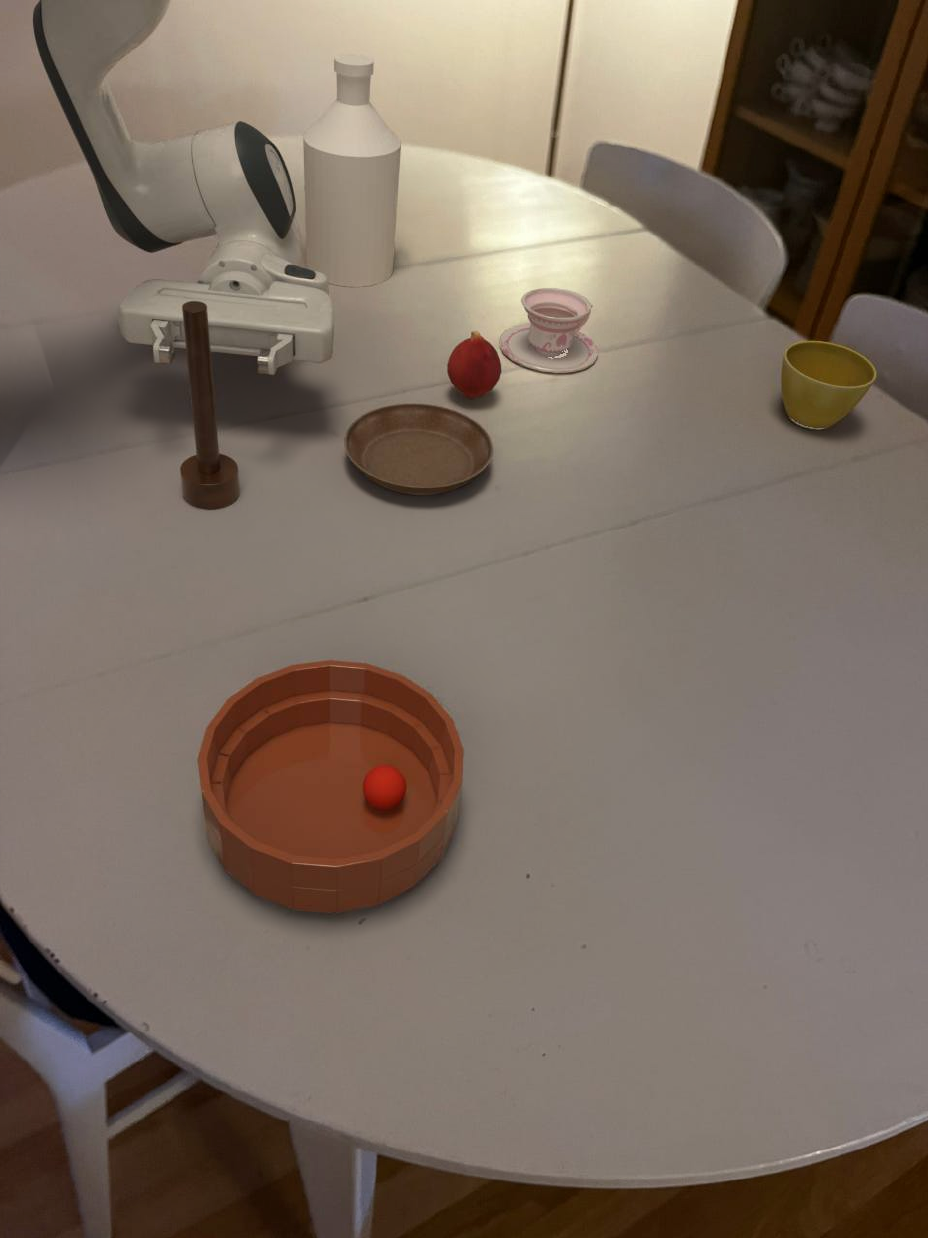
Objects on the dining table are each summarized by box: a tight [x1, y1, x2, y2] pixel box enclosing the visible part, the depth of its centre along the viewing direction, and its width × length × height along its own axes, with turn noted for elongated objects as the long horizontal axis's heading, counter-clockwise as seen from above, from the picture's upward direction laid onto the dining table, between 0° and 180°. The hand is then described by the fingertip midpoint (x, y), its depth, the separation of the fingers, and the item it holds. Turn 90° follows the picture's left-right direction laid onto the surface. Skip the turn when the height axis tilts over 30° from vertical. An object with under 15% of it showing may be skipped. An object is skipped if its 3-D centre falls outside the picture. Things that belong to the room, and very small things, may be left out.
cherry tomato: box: [363, 765, 406, 809], centre depth 70 cm, size 3×3×3 cm
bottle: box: [302, 53, 402, 288], centre depth 126 cm, size 12×12×25 cm
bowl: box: [196, 659, 465, 914], centre depth 69 cm, size 17×17×6 cm
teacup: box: [499, 287, 599, 374], centre depth 121 cm, size 12×12×6 cm
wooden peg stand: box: [179, 301, 240, 510], centre depth 90 cm, size 5×5×19 cm
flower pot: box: [780, 340, 877, 429], centre depth 115 cm, size 10×10×7 cm
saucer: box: [343, 403, 494, 496], centre depth 102 cm, size 15×15×3 cm
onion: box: [446, 330, 502, 400], centre depth 111 cm, size 6×6×8 cm
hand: (213, 361), depth 93 cm, fingers open, 8 cm apart
